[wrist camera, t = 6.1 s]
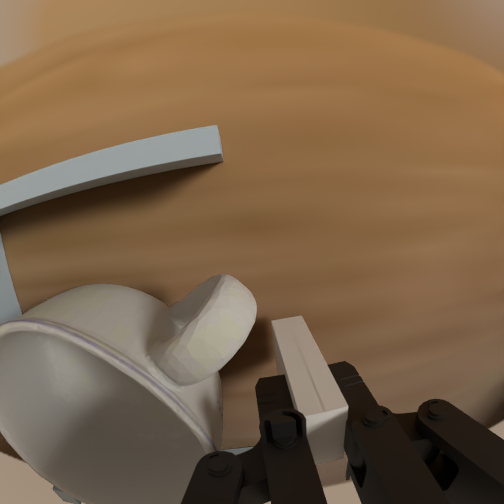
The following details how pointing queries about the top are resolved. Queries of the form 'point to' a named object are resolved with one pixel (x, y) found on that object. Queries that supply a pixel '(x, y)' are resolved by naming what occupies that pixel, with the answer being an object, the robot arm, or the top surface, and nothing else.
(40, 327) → the teacup
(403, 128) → the top surface
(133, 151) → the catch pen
